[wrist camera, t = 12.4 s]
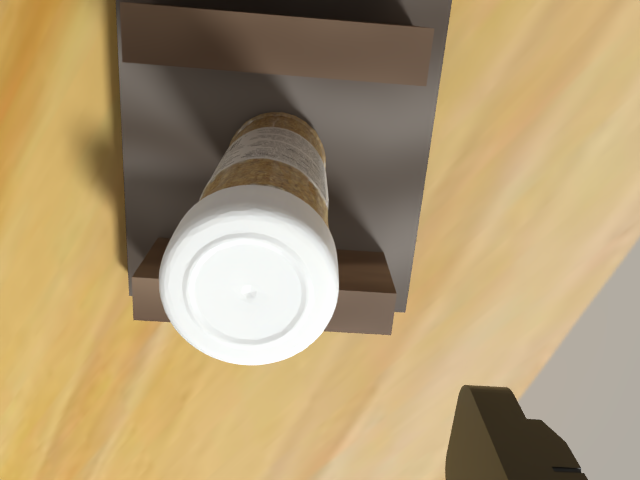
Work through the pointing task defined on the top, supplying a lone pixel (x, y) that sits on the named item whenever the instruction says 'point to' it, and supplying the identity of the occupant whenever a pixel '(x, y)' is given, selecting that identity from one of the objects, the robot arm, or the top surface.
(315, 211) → the sprinkles bottle
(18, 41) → the top surface
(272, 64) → the wooden tiered slot stand
